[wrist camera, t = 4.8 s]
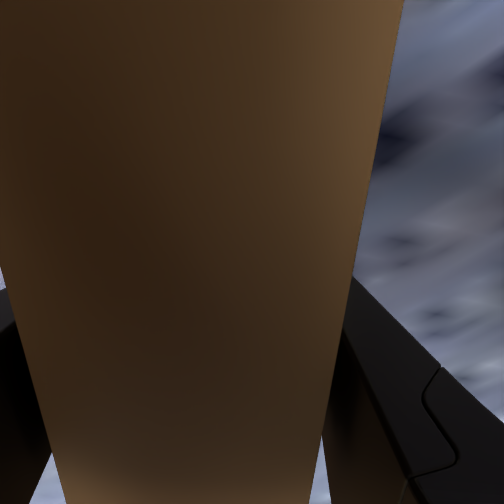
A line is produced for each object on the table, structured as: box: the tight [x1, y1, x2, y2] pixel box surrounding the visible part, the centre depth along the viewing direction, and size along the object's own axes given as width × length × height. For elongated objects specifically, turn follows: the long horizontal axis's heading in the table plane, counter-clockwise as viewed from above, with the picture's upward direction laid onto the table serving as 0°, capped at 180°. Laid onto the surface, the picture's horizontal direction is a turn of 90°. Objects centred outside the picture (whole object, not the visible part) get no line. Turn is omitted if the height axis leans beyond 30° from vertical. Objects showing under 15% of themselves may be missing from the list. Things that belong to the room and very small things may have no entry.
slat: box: [0, 0, 404, 504], centre depth 8 cm, size 4×12×4 cm, turn 177°
